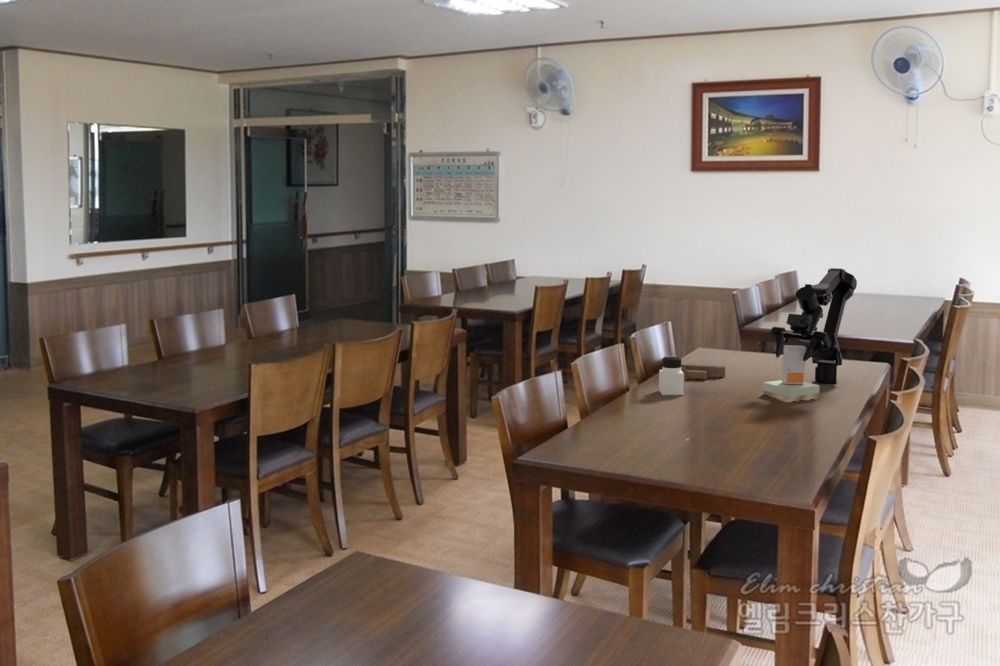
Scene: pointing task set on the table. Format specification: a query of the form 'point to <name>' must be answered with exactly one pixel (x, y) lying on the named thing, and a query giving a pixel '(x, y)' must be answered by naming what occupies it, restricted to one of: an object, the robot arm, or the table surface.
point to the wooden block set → (702, 370)
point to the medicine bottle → (671, 376)
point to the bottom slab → (790, 399)
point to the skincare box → (793, 364)
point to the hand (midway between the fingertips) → (790, 358)
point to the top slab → (791, 388)
